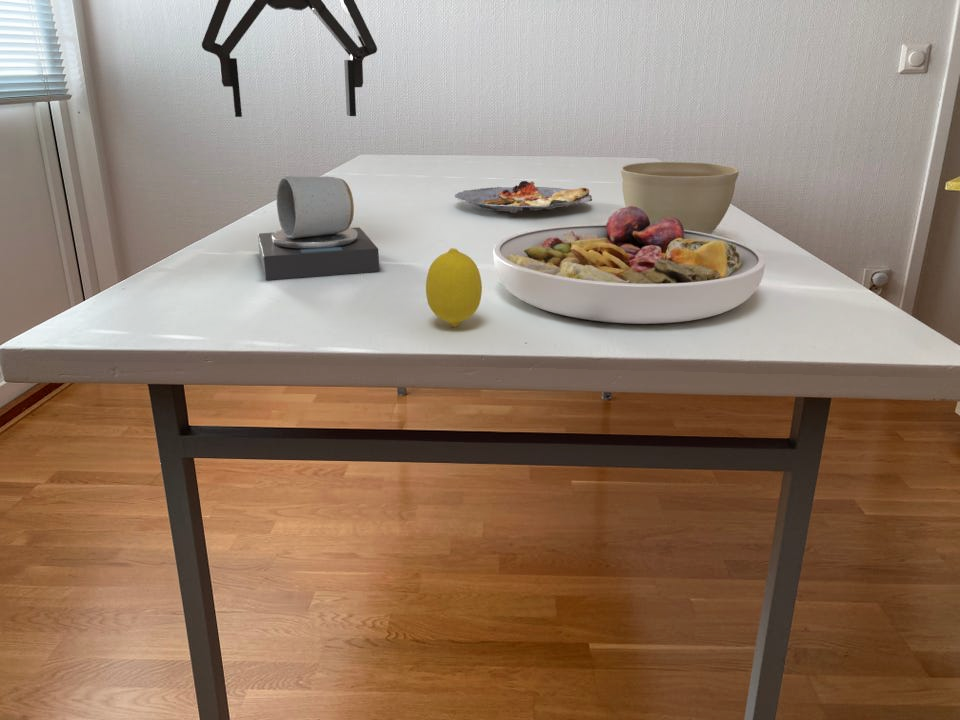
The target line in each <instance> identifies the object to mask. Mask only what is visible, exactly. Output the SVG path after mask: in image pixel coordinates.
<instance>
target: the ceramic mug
mask: <svg viewBox="0 0 960 720" xmlns="http://www.w3.org/2000/svg"><path fill="white" fill-rule="evenodd" d="M354 209H355V204H354V196H353V192H352V191H351V188H350V186H349V184H348V183H347V182H346V180H344V179H342V178H340V177H335V176H312V175H311V176H308V175H307V176H306V175H284V176H282V177H281V178H280V180H279V182H278V185H277V190H276V210H277V216H278V221H279V224H280V227H281V230H282V231H283V232H284V234H285V235H286V236H287V237H288V238H292V239H293V238H301V237H311V236H318V235H328V234H336V233H340V232H343V231H345V230H347V229H348V228H351V224H352V223H353V220H354V212H355V210H354Z"/></svg>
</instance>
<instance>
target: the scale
mask: <svg viewBox="0 0 960 720" xmlns="http://www.w3.org/2000/svg"><path fill="white" fill-rule="evenodd" d="M351 228H352V229H354V230H356V231H357V233H358V239H357V240H356V241H354V242H352V243H350V244H346V245H342V246H337V247H329V248H317V249H297V248H287V247H281V246H278V245H275V244H274V243H273V242H272V234H273V233H274V232H261V233H259V232H258V233H257V241H258V247H259V249H258V250H259V257H260V261H261V266H262V270H263V275H264V277H265V280H266V281H274V280H275V281H276V280H288V279H301V278H312V277H327V276H338V275H339V276H340V275H341V276H342V275H350V274H352V275H353V274H366V273H376V272H377V273H378V272H380V256H379V248H378V246H376V244H375V243H374V242H373V241H372V240H371V238H370V237H369V236H368V235H367V234H366V233H365V232H364V230H362V228H361V227H359V226H358V227H351Z"/></svg>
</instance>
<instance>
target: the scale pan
mask: <svg viewBox="0 0 960 720" xmlns="http://www.w3.org/2000/svg"><path fill="white" fill-rule="evenodd" d="M352 228H353V227H349V228H348V229H347V230H345V231H343V232H340V233H336V234H328V235H318V236H311V237H301V238H293V239H292V238H288V237H287V236H286V235H285V234H284V232H283V231H282V229H281V230H277V231H275V232H272V233H273V234H272V242H273V243H274V244H275V245H278V246H281V247H287V248H297V249H317V248H329V247H337V246H342V245H346V244H350V243H352V242H354V241H356V240H357V239H358V233H357V231H356V230H354V229H352Z"/></svg>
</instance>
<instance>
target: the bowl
mask: <svg viewBox="0 0 960 720" xmlns="http://www.w3.org/2000/svg"><path fill="white" fill-rule="evenodd" d="M492 253H493V267H494V270H495V273H496V276H497V278H498V279H499V281H500V283H501V284H502V285H503V286H504V288H505V289H506V290H507V291H508V292H510V294H512V295H513V296H514V297H516V298H517V299H518V300H520V301H523V302H524V303H527V304H528V305H531V306H532V307H535V308H537V309H541V310H543V311H546V312H550V313H553V314H557V315H561V316H566V317H570V318H574V319H575V318H576V319H581V320H588V321H593V322H603V323H613V324H632V325H633V324H634V325H635V324H636V325H637V324H638V325H640V324H641V325H649V324H650V325H651V324H652V325H655V324H672V323H683V322H689V321H690V322H691V321H696V320H702V319H706V318H711V317H714V316H717V315H720V314H721V315H722V314H723V313H726V312H728V311H731V310H733V309H735V308H736V307H739V306H740V305H742V304H743V303H745V302H746V301H747V300H749V298H751V297H752V296H753V294H755V292H756V291H757V290H758V288H759V286H760V284H761V283H762V280H763V277H764V274H765V268H766V258H765V256H764V255H763V254H762V253H761V252H760V251H759V250H758V249H756V248H754V247H753V246H751V245H748V244H746V243H743V242H741V241H738V240H735V239H731V238H728V237H725V236H720V235H715V234H712V233H711V234H707V233H701V232H695V231H689V230H684V228H683V225H682V224H681V222H680V220H678V219H677V218H674V217H665V218H662V219H660V220H658V221H656V222H655V223H653V224H651V225H650V221H649V218H648V216H647V215H646V213H645V212H644V211H643V210H641V209H640V208H637V207H633V206H629V207H626V206H625V207H621V208H619V209H618V210H616V211H614V212H613V213H612V214H611V215H610V216H609V218H608V220H607V222H606V224H576V225H563V226H561V225H560V226H552V227H544V228H539V229H532V230H528V231H523V232H519V233H515V234H512V235H510V236H507V237H505V238H503V239H501V240H500V241H498V242H497V243H496V244H495V245H494V247H493V252H492Z"/></svg>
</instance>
